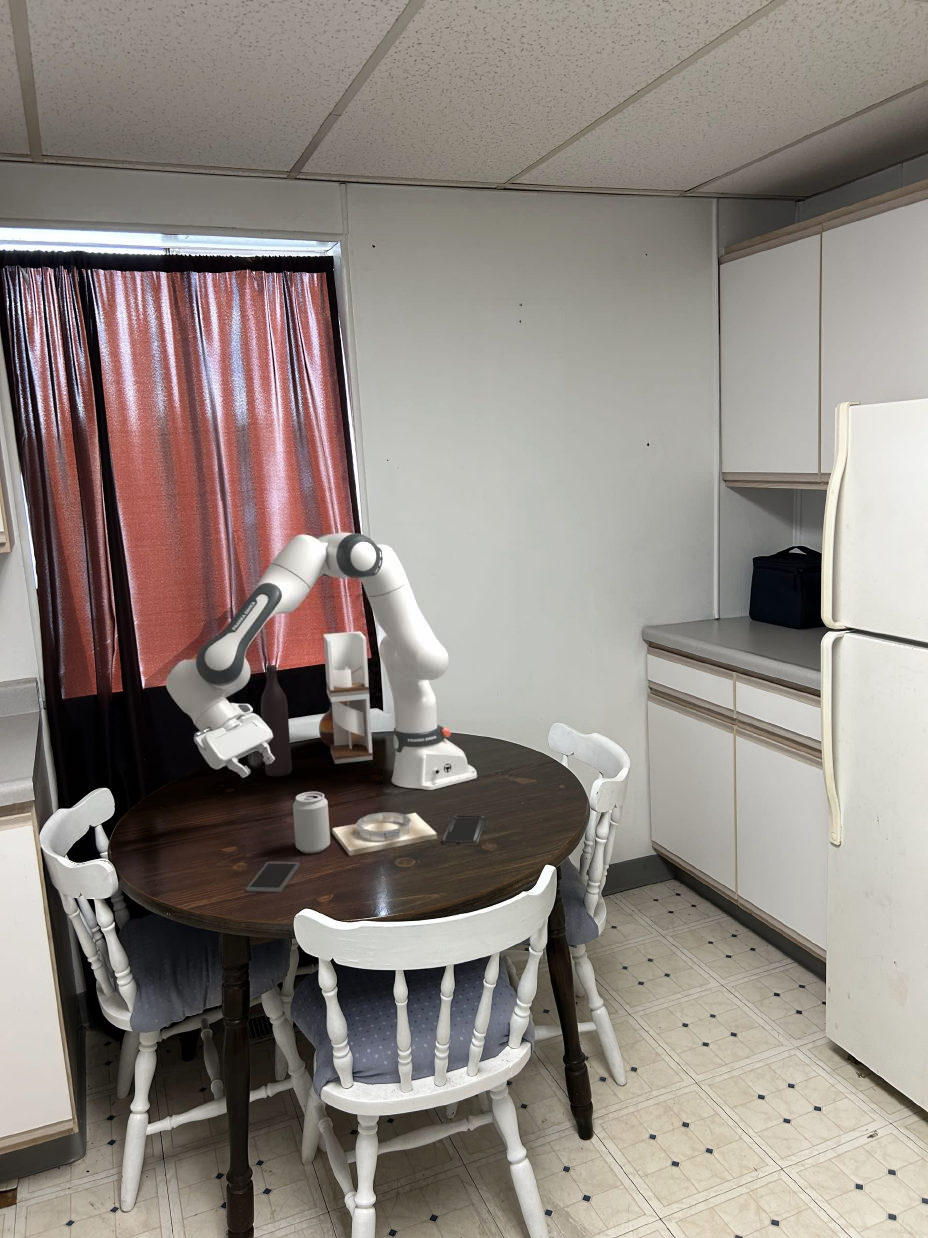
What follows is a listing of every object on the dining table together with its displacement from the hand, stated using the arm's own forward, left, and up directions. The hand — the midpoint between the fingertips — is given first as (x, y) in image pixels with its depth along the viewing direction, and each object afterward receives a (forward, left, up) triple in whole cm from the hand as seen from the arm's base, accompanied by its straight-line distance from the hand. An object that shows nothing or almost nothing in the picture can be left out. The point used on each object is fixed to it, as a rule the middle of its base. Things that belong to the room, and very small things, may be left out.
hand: (259, 768), depth 210 cm
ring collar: (-25, +10, -16) cm, 31 cm away
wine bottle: (-13, -46, -17) cm, 51 cm away
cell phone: (+2, +20, -18) cm, 27 cm away
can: (-9, +9, -17) cm, 21 cm away
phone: (-42, +16, -18) cm, 48 cm away
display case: (-35, -51, -17) cm, 64 cm away
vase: (-35, -65, -17) cm, 76 cm away
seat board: (-25, +10, -17) cm, 32 cm away
